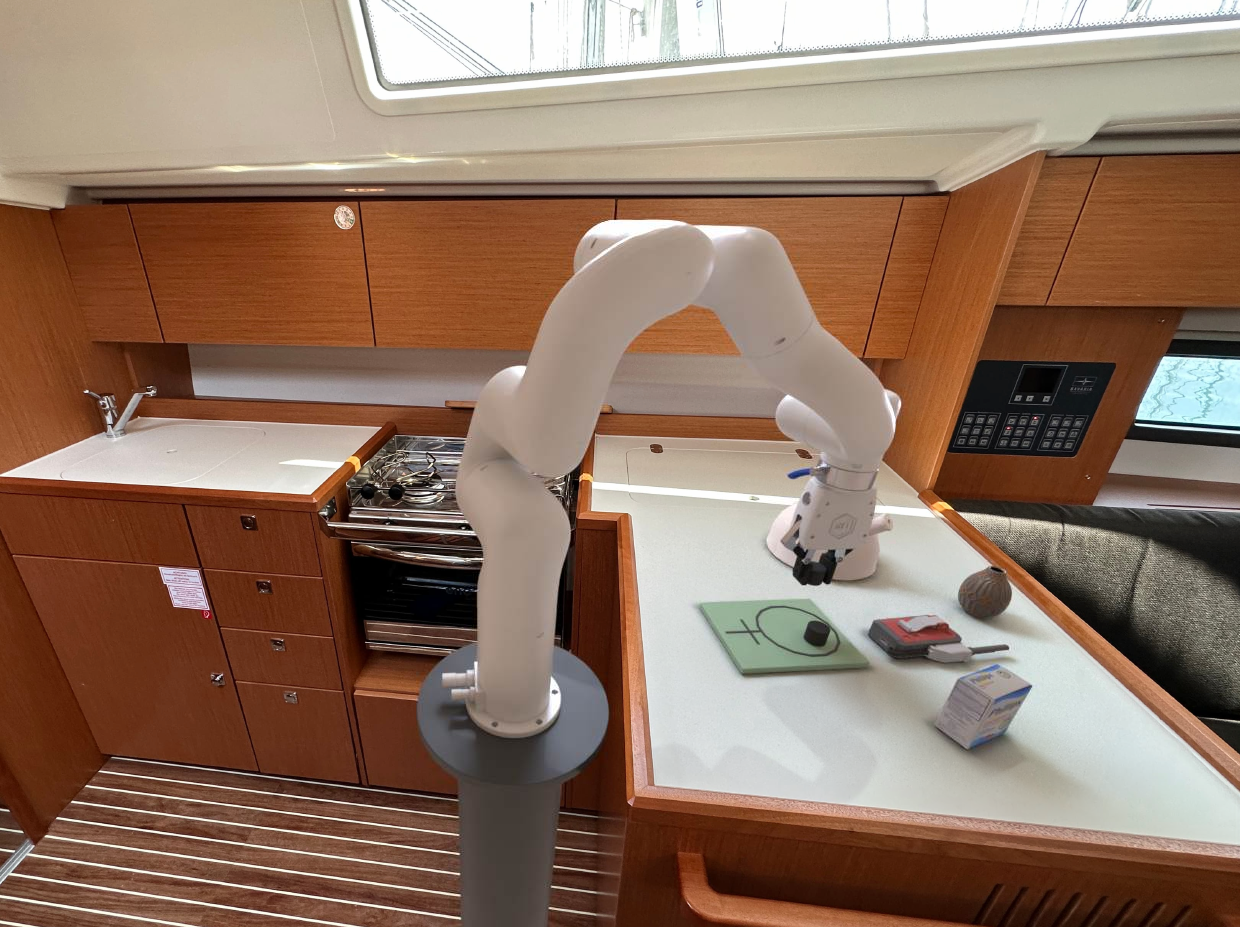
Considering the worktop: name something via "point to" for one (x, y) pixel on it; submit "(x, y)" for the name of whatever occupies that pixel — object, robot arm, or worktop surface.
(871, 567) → the kettle
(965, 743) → the medicine box
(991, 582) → the vase
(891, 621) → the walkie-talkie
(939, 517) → the worktop surface
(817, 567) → the eye dot
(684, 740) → the worktop surface
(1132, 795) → the worktop surface
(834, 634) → the drawing board
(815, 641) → the eye dot
